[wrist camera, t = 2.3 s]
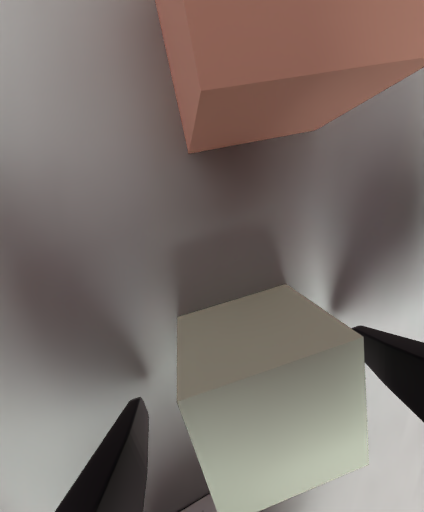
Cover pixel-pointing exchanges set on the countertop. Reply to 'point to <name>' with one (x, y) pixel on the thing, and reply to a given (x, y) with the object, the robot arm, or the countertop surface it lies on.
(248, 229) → the countertop surface
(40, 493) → the countertop surface
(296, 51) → the terracotta cube
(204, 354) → the sage cube
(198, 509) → the coffee box
